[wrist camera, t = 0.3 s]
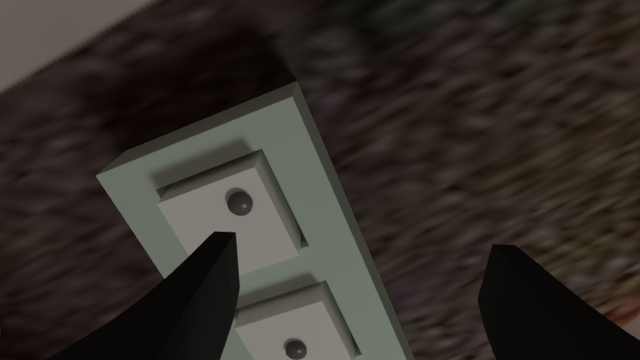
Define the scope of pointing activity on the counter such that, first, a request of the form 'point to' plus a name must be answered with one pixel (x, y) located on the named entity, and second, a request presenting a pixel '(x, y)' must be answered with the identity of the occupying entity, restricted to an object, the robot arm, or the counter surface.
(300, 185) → the button board
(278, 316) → the tile one pip
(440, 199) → the counter surface
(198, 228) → the tile two pips
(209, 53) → the counter surface
